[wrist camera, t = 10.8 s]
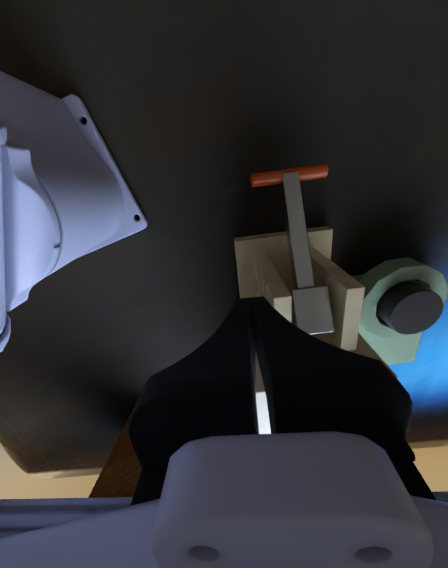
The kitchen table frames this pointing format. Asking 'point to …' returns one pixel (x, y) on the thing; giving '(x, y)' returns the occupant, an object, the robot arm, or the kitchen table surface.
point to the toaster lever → (300, 248)
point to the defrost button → (409, 307)
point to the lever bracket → (278, 279)
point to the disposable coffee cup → (119, 471)
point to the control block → (376, 284)
